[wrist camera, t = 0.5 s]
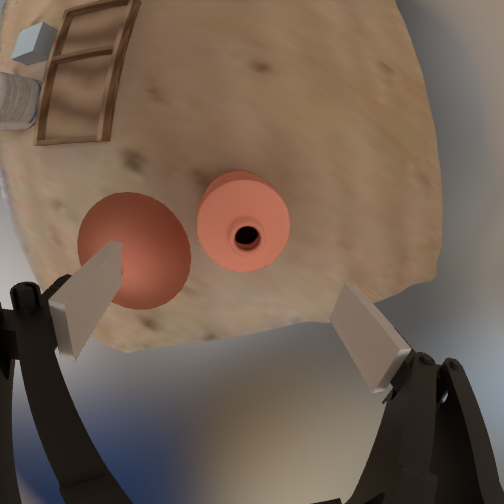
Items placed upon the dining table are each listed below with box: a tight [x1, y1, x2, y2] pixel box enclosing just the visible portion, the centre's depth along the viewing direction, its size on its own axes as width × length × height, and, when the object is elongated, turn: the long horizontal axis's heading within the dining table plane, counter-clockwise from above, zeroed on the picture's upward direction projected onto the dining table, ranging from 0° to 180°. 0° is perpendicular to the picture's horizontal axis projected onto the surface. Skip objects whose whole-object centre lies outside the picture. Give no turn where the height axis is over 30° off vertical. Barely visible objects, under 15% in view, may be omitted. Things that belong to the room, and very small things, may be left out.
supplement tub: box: [0, 72, 42, 131], centre depth 23 cm, size 10×10×15 cm
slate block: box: [11, 22, 57, 65], centre depth 23 cm, size 6×6×6 cm
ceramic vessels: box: [78, 171, 290, 309], centre depth 32 cm, size 35×21×19 cm, turn 114°
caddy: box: [33, 0, 141, 146], centre depth 28 cm, size 26×14×3 cm, turn 172°
